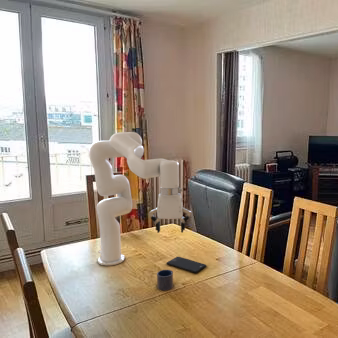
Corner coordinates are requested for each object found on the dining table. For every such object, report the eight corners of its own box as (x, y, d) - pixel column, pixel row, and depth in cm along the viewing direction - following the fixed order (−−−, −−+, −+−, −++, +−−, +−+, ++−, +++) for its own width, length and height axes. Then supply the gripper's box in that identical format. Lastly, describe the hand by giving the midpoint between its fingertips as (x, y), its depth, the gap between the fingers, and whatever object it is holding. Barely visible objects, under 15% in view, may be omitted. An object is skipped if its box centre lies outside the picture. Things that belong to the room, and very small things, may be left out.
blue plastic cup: (154, 287, 139) (153, 273, 138) (165, 281, 144) (165, 268, 143) (165, 292, 135) (164, 278, 134) (176, 285, 140) (176, 272, 139)
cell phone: (177, 257, 167) (177, 256, 167) (206, 266, 158) (206, 264, 158) (166, 264, 160) (166, 262, 160) (195, 273, 151) (195, 271, 150)
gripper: (191, 189, 136) (192, 228, 139) (149, 189, 135) (150, 228, 138) (190, 193, 129) (191, 234, 132) (146, 193, 128) (147, 235, 131)
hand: (170, 231), depth 135 cm, fingers open, 9 cm apart
